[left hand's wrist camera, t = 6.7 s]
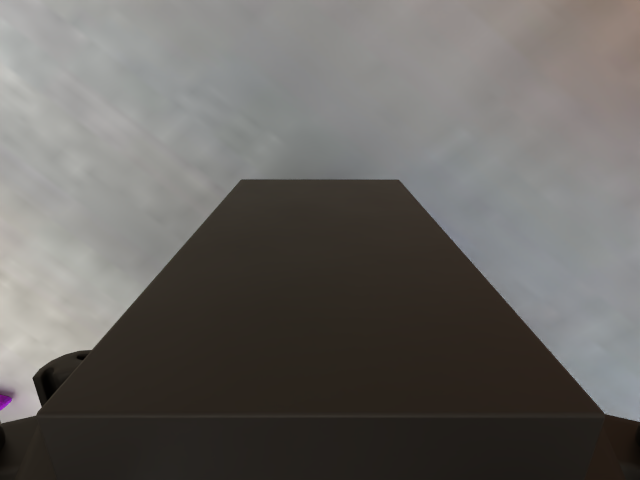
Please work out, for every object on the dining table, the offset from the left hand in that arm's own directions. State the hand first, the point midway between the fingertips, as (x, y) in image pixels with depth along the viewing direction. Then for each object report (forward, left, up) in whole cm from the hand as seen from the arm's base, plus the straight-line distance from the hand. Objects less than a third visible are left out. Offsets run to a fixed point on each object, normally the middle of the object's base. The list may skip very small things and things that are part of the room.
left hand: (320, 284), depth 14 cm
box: (-2, +7, -3) cm, 7 cm away
